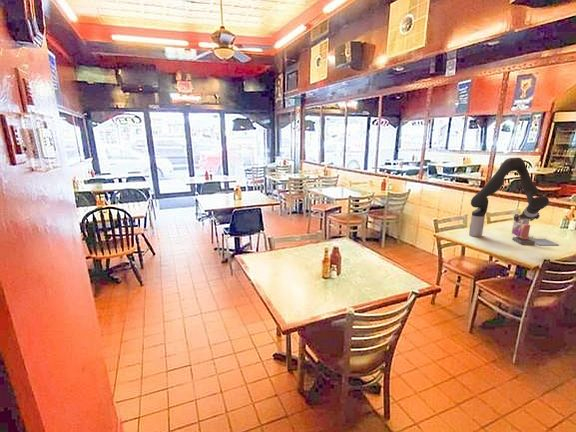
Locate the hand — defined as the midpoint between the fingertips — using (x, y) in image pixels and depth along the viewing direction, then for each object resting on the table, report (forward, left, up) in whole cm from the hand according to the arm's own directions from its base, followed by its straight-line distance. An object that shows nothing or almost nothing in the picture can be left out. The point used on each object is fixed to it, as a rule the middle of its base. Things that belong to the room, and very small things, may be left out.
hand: (523, 220), depth 230 cm
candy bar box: (-24, +14, -20) cm, 34 cm away
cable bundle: (-6, +6, -19) cm, 21 cm away
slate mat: (-6, +20, -19) cm, 29 cm away
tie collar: (-7, +6, -19) cm, 21 cm away
